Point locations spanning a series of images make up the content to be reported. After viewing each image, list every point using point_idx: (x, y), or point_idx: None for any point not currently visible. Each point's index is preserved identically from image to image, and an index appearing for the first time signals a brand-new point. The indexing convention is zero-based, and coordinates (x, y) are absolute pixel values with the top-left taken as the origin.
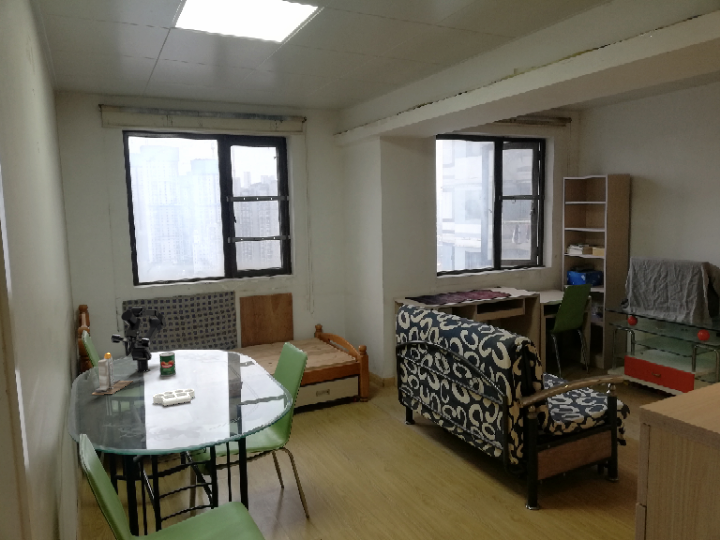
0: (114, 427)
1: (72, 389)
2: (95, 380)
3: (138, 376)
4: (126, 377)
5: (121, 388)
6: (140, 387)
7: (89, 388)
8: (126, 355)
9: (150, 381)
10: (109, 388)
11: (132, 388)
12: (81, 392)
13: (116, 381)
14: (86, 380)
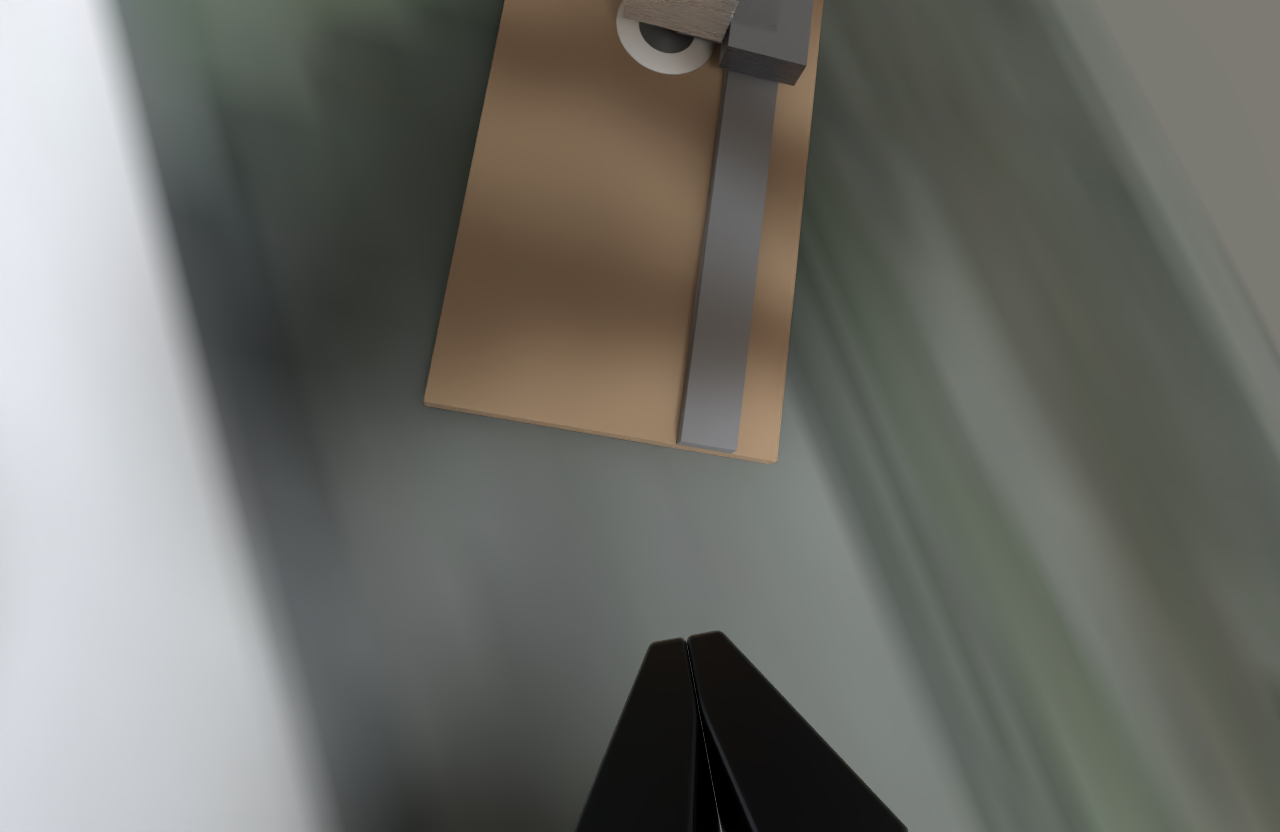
0: None
1: (1202, 204)
2: (1123, 623)
3: (432, 796)
4: None
5: (500, 27)
6: (189, 38)
7: (1001, 194)
8: (704, 633)
9: (70, 371)
10: None
11: (322, 20)
12: (1016, 37)
13: (701, 336)
14: (1259, 647)
